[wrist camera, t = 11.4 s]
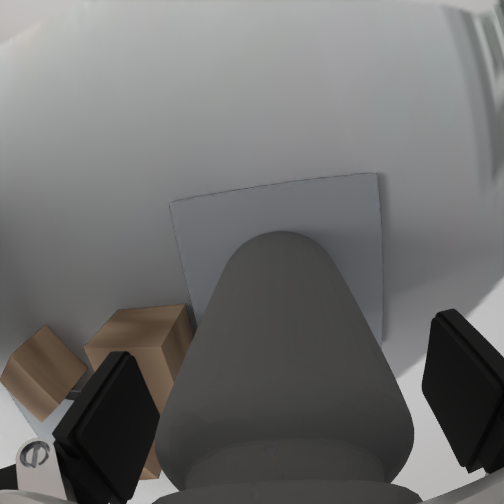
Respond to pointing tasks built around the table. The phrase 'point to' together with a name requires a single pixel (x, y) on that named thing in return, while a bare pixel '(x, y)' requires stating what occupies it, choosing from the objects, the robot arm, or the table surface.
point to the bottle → (284, 390)
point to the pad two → (51, 421)
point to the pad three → (291, 220)
